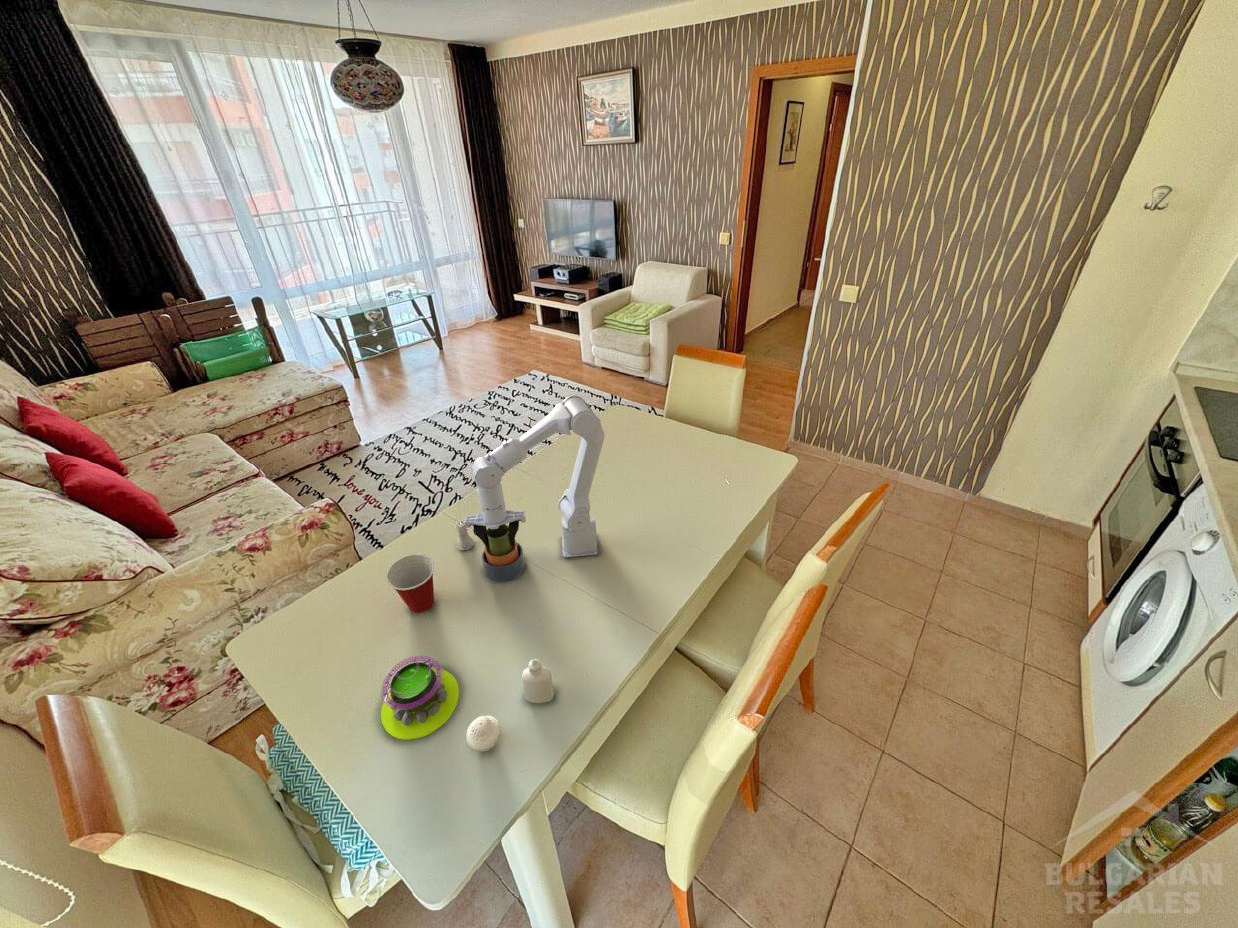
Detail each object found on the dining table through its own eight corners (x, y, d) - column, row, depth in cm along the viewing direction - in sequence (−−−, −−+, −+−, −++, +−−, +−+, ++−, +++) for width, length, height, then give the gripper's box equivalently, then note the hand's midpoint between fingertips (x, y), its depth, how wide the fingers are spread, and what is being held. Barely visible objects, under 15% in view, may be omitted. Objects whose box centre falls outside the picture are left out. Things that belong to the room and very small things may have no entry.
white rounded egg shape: (462, 752, 90) (455, 732, 86) (481, 721, 95) (475, 701, 91) (491, 764, 88) (485, 744, 84) (509, 732, 93) (504, 712, 89)
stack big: (525, 551, 135) (523, 538, 132) (524, 579, 126) (521, 565, 123) (487, 555, 134) (484, 541, 131) (483, 583, 125) (479, 569, 122)
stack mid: (521, 554, 134) (517, 534, 130) (520, 576, 127) (516, 555, 123) (490, 557, 133) (486, 537, 129) (488, 579, 126) (483, 558, 122)
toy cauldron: (428, 656, 107) (416, 624, 101) (474, 692, 100) (464, 659, 94) (365, 711, 97) (347, 678, 91) (411, 755, 90) (396, 723, 84)
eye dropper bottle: (535, 681, 102) (528, 645, 95) (557, 692, 100) (552, 656, 93) (522, 698, 99) (514, 662, 92) (545, 711, 97) (538, 675, 90)
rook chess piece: (469, 552, 135) (464, 530, 130) (454, 550, 136) (449, 528, 131) (476, 541, 138) (471, 519, 134) (462, 539, 139) (456, 517, 135)
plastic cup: (401, 629, 114) (387, 593, 107) (396, 597, 122) (382, 562, 115) (448, 611, 118) (438, 576, 111) (440, 581, 126) (430, 547, 119)
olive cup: (513, 539, 129) (510, 522, 126) (512, 555, 124) (508, 537, 121) (491, 541, 128) (487, 524, 125) (489, 557, 123) (485, 539, 120)
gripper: (459, 515, 114) (469, 557, 121) (521, 510, 115) (528, 552, 123) (463, 497, 120) (473, 539, 127) (523, 492, 121) (529, 533, 129)
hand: (500, 544), depth 125 cm, fingers closed on olive cup, 6 cm apart
